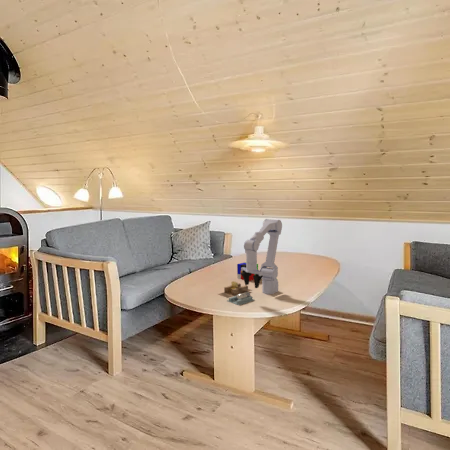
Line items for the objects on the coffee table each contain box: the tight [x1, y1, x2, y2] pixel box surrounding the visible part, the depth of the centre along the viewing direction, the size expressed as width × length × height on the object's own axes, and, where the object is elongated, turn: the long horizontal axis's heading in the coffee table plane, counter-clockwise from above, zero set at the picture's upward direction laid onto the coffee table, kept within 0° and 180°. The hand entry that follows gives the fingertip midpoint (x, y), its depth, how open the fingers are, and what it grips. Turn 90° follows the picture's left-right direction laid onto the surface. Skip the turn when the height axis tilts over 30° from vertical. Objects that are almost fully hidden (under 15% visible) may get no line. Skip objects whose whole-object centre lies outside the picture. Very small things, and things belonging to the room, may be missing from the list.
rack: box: [226, 295, 255, 306], centre depth 205 cm, size 12×10×3 cm
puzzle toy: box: [236, 261, 259, 282], centre depth 252 cm, size 10×10×10 cm
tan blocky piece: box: [230, 280, 239, 293], centre depth 218 cm, size 3×4×6 cm
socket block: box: [217, 282, 253, 299], centre depth 219 cm, size 20×9×4 cm, turn 132°
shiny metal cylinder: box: [236, 291, 251, 300], centre depth 205 cm, size 8×4×4 cm, turn 132°
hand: (251, 286), depth 202 cm, fingers open, 7 cm apart
